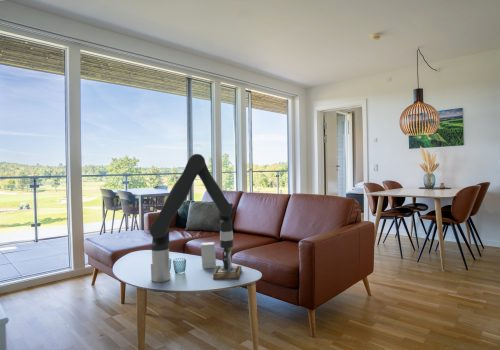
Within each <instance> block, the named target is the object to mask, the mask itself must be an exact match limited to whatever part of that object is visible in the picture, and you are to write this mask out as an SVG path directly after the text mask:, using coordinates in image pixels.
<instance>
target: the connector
mask: <svg viewBox="0 0 500 350" xmlns="http://www.w3.org/2000/svg"><path fill="white" fill-rule="evenodd" d="M225 260H226V259H225ZM222 263H223V262H222ZM222 266H223V267H224V263H223V264H222ZM232 266H233V263H232V254H231V255H230V257H229V259H228V270H225V269H224V271H232Z"/></svg>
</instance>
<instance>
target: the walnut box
mask: <svg viewBox="0 0 500 350" xmlns="http://www.w3.org/2000/svg"><path fill="white" fill-rule="evenodd" d="M216 266H217V267H215V269H214V271H213V274H212V277H213V280H239V278H240V276H241V273H242V265H232V271H224V267H223V265H216Z"/></svg>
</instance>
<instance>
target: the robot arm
mask: <svg viewBox="0 0 500 350" xmlns="http://www.w3.org/2000/svg"><path fill="white" fill-rule="evenodd" d="M197 176H198V177H199V178H200V181H201V182H202V184H203V186H204V188H205V190H206V191H207V193H208V195H209V197H210V198H211V200H212V202H213V203H214V204H215V206H216V207H217V210H218V214H219V229H220V230H219V244H220V245H219V246H220V248H221V249H223V250H222V263H224V269H225V270H228V259H229V257H230V255H231V256H232V248H233V247H234V232H233V221H232V214H233V207H232V205H231V203H229V201H228V199H227V198H226V197H225V195H224V193H223V190H222V189H221V187H220V186H219V185H218V183H217V181H216V180H215V179H214V176H212V174H211V172H210V171H209V169H208V166H207V164H206V159H205V157H204V156H203V155H202V154H200V153H193V154H191V155H190V156H189V157H188V160H187V163H186V164H185V167H184V169H183V171H182V173H181V175H180V177H179V178H178V179H177V180H176V182H175V183H174V185H173V186H172V187H171V190H170V192H169V193H168V195H167V197H166V199H165V201H164V203H163V206H162V208H161V210H160V212H159V213H158V215H157V216H156V218H155V220H153V222H152V223H151V225H150V227H149V234H150V236H151V237H152V242H151V246H150V247H151V264H150V274H151V275H150V277H151V279H150V280H151V282H154V283H164V282H168V281H169V280H170V279H171V273H170V272H171V271H170V269H171V267H170V246H169V245H170V227H169V226H170V224H171V222H172V220H173V218H174V217H175V215H176V214H177V213H178V211H179V210H180V208H182V205H183V204H184V203H185V200H186V199H187V197H188V195H189V193H190V192H191V189H192V185H193V184H194V182H195V180H196V178H197ZM225 259H226V260H225Z"/></svg>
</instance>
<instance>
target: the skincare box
mask: <svg viewBox="0 0 500 350" xmlns="http://www.w3.org/2000/svg"><path fill="white" fill-rule="evenodd" d="M215 243H216V242H215V241H211V242H201V244H200V250H201V252H200V253H201V265H202V266H201V267H202V269H203V270H204V269H216V268H217V267H216V266H217V257H216V247H215V246H216V245H215Z"/></svg>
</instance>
